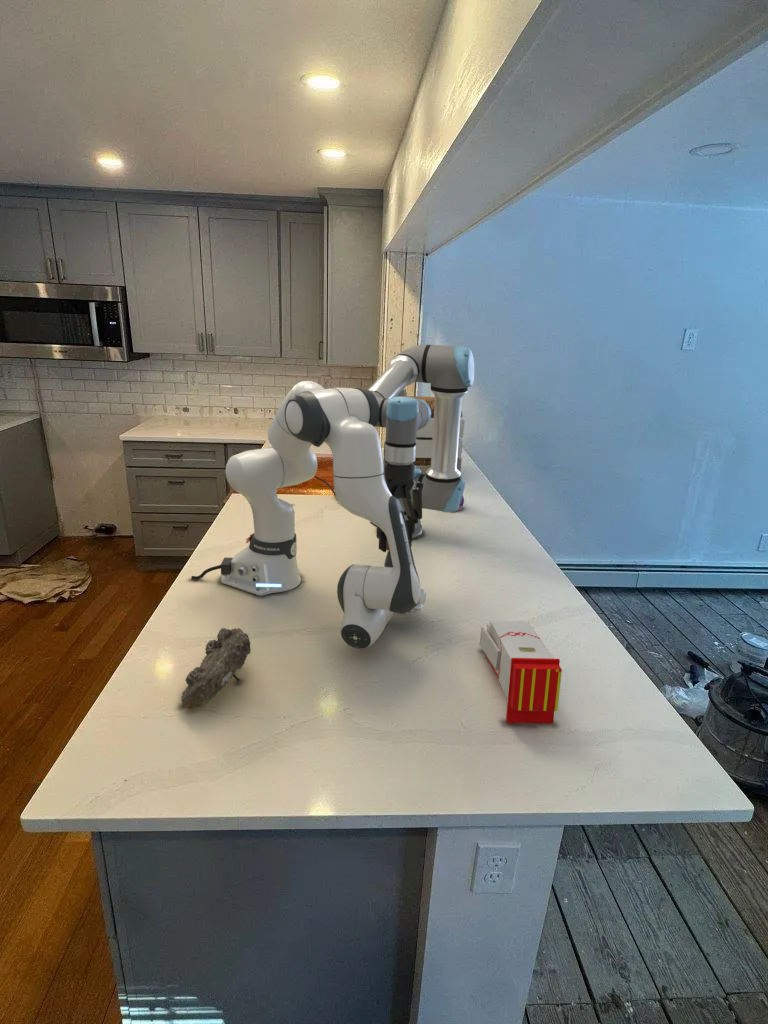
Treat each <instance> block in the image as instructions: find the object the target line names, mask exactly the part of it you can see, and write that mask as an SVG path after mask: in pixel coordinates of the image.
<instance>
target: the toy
mask: <svg viewBox="0 0 768 1024" xmlns="http://www.w3.org/2000/svg"><path fill="white" fill-rule="evenodd" d="M478 642H479V643H478V644H479V646H480V647H481V650H482V651H483V654H484V655H485V657H486V659H487V661H488V663H489V664H490V666H491V669H492V670H493V672H494V674H495V676H496V678H497V679H498V682H499V684H500V687H501V688H502V691H503V693H504V695H505V697H506V699H507V706H506V717H505V722H506V724H547V725H549V724H551V725H553V724H554V718H555V712H558V711H559V710H558V709H559V698H560V689H561V682H562V681H561V680H562V672H563V671H562V667H561V666H560V663H561V659H560V658H554V656H553V654H552V653H551V651H550V650H549V649H548V647H547V646H546V644H545V643H544V642H543V640H542V638H540V636H539V635H538V633H537V631H536V630H535V627H534V626H532V625H531V623H530V622H529V620H528V621H527V620H526V621H525V620H524V621H523V620H490V621H489V622H487V623H486V628H485V626H480V634H479V641H478Z"/></svg>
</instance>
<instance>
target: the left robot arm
mask: <svg viewBox="0 0 768 1024" xmlns="http://www.w3.org/2000/svg"><path fill="white" fill-rule="evenodd" d="M378 419H379V404H378V401H377V399H376V397H375V395H374V394H373V393H372V392H371V391H369V390H368V389H366V388H362V387H355V386H354V387H329V388H324V387H323V386H322V385H321V384H320V383H317V382H315V381H311V380H302V381H300V382H297V383H296V384H294V386H292V388H291V389H290V390H289V391H288V393H287V394H286V395H285V397H284V399H283V400H282V401H281V403H280V405H279V407H278V408H277V411H276V413H275V414H274V417H273V419H272V421H271V423H270V425H269V427H268V430H267V439H268V443H269V445H270V446H269V447H263V448H255V449H249V450H248V449H247V450H244V451H242V452H239V453H237V454H234V455H232V456H230V457H229V458H228V460H227V463H226V465H225V470H224V471H225V479H226V481H227V483H228V485H229V486H230V487H231V489H232V490H233V491H235V492H237V493H238V494H240V495H242V496H243V497H244V498H245V500H246V501H247V503H248V504H249V506H250V509H251V512H252V518H253V533H251V534H250V535H249V536H248V537H247V538H245V540H246V542H245V543H246V544H248V543H249V545H247V546H246V547H245V548H243V549H242V550H240V551H239V552H237V554H235V555H234V556H233V557H223V559H222V561H221V562H220V564H218V565H215V566H211V567H209V568H206V569H205V570H204V571H202V572H201V574H199V575H191V578H190V579H191V580H195V581H198V580H201V579H202V578H203V577H205V576H206V575H207V574H208V573H210V572H212V571H216V570H220V575H221V577H220V578H221V579H220V582H221V584H223V585H227V586H230V587H233V588H236V589H240V590H242V591H245V592H248V593H251V594H253V595H256V596H262V597H263V596H267V595H269V594H274V593H283V592H288V591H290V590H293V589H295V588H296V587H298V586H299V585H301V583H302V577H301V575H300V570H299V566H298V560H297V553H298V552H297V549H298V544H297V543H298V541H297V534H296V524H295V521H296V520H295V519H296V518H295V517H296V516H295V515H296V514H295V509H294V507H293V505H292V504H291V503H289V502H288V501H286V500H284V499H281V498H280V497H278V493H277V491H278V489H281V488H286V487H292V486H297V485H301V484H303V483H306V482H307V481H310V480H311V479H312V480H313V479H314V478H315V477H314V476H316V474H317V471H318V465H319V464H318V458H317V455H316V454H315V452H314V450H313V449H312V448H311V447H312V446H314V447H317V448H320V447H321V446H322V445H323V444H324V443H325V444H326V445H327V446H328V447H329V449H330V451H331V454H332V472H333V473H332V475H333V478H332V479H333V490H334V492H335V494H336V496H335V498H336V500H337V502H338V503H339V504H340V505H341V507H343V508H344V509H345V510H346V511H347V512H349V513H350V514H353V515H354V516H357V517H359V518H361V519H364V520H366V521H369V523H370V522H372V523H374V524H375V525H377V526H378V527H380V528H381V529H382V530H383V531H384V533H385V534H386V537H387V540H388V544H389V549H390V554H391V559H392V563H393V567H384V566H378V565H377V566H376V565H370V564H369V565H368V564H354V563H353V564H351V565H349V566H348V567H347V568H346V569H345V570H344V571H343V572H342V574H341V576H340V577H339V579H338V581H337V588H336V595H337V600H338V604H339V607H340V609H341V610H342V612H343V619H342V622H341V625H340V637H341V639H342V640H343V642H344V643H345V644H346V645H348V646H349V647H352V648H355V649H360V650H361V649H362V650H363V649H368V648H370V647H371V646H372V645H374V643H375V642H376V641H378V639H379V637H380V636H382V633H383V632H384V630H385V628H386V625H388V623H389V622H390V620H391V619H392V617H393V616H394V613H397V614H401V615H405V614H416V613H417V612H420V611H421V610H422V608H423V607H424V606H425V604H426V600H427V592H426V590H425V589H423V588H422V587H421V581H420V577H419V574H418V570H417V568H416V565H415V560H414V555H413V551H412V545H410V540H409V535H408V530H407V525H406V521H405V517H404V513H403V509H402V506H401V504H400V501H399V500H398V499H397V498H395V497H394V496H393V495H392V494H391V493H390V491H389V489H388V487H387V484H386V481H385V476H384V452H383V448H382V442H381V437H380V434H379V431H378V430H377V428H376V424H377V422H378Z"/></svg>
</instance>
